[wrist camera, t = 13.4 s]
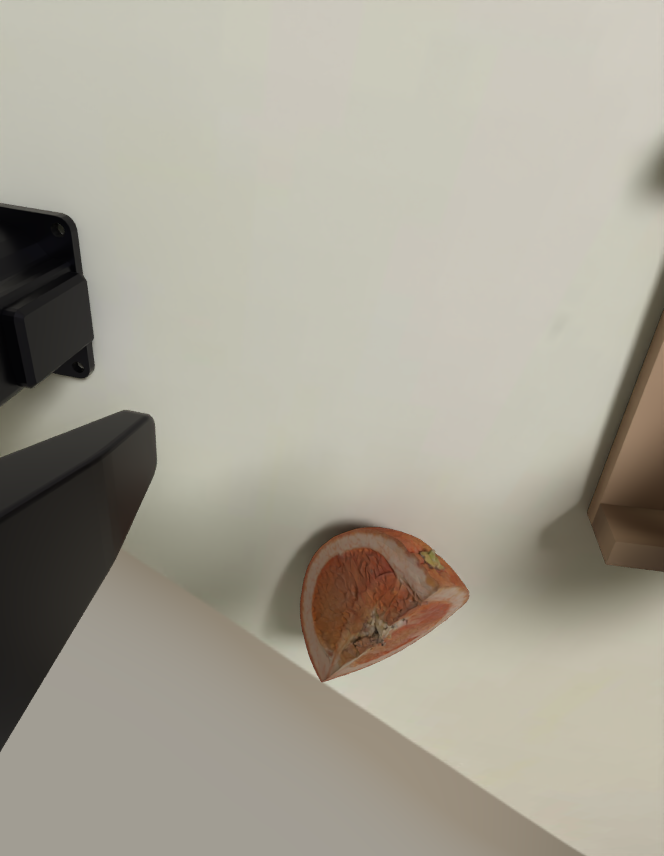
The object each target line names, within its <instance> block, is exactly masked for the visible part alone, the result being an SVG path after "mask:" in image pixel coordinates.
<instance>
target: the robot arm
mask: <svg viewBox="0 0 664 856" xmlns="http://www.w3.org/2000/svg"><path fill="white" fill-rule="evenodd" d="M57 223H58V224H60V225H61V226H62V227H63V228H64V231H65V233H64V234H62V233H61V232H60V231H59V230H58V228H57ZM93 338H94V335H93V327H92V319H91V311H90V303H89V295H88V287H87V281H86V279H85V277H84V276H83V272H82V264H81V256H80V248H79V241H78V233H77V228H76V225H75V223H74V221H73V220H72V219H71V218H70V217H69V216H67V215H65V214H63V213H58V212H51V211H45V210H39V209H33V208H27V207H21V206H15V205H9V204H3V203H0V406H2V405H3V404H4V403H6V402H7V401H8V400H9V399H11V398H12V397H13V396H14V395H16V394H17V393H18V392H20V391H21V390H22V389H23V388H25V387H26V388H34V387H35V386H36V385H38V384H39V383H40V382H41V381H43V380H44V379H45V378H46V377H48V376H49V375H50V374H51V373H55V374H60V375H66V376H71V377H77V378H85V377H87V376H88V375H89V374H91V373H92V372H93V370H94V366H95V364H94V357H93V349H92V340H93ZM77 362H79V363H81V364H82V365H83V367H84V368H81V367H80V366H79V365H78V363H77ZM156 465H157V452H156V435H155V423H154V420H153V418H152V417H151V416H150V415H149V414H145V413H140V412H135V411H130V410H123V411H120V412H117V413H115V414H112V415H109V416H107V417H104V418H102V419H99V420H97V421H94V422H91V423H89V424H86V425H84V426H81V427H79V428H76V429H73V430H71V431H68V432H66V433H63V434H61V435H58V436H55V437H53V438H50V439H48V440H45V441H42V442H40V443H37V444H35V445H32V446H30V447H27V448H24V449H22V450H19V451H17V452H14V453H12V454H9V455H6V456H4V457H1V458H0V751H1V750H2V748H3V746H4V745H5V743H6V741H7V740H8V738H9V736H10V734H11V733H12V731H13V730H14V728H15V726H16V725H17V723H18V721H19V720H20V718H21V716H22V715H23V713H24V712H25V710H26V708H27V707H28V705H29V703H30V701H31V700H32V698H33V697H34V695H35V693H36V692H37V690H38V688H39V687H40V685H41V683H42V682H43V680H44V678H45V677H46V675H47V673H48V672H49V670H50V668H51V667H52V665H53V663H54V662H55V660H56V658H57V657H58V655H59V653H60V652H61V650H62V648H63V647H64V645H65V643H66V641H67V640H68V638H69V637H70V635H71V633H72V632H73V630H74V628H75V627H76V625H77V623H78V622H79V620H80V618H81V617H82V615H83V613H84V612H85V610H86V608H87V607H88V605H89V603H90V602H91V600H92V598H93V597H94V595H95V593H96V592H97V590H98V588H99V587H100V585H101V583H102V582H103V580H104V579H105V577H106V575H107V573H108V572H109V570H110V568H111V566H112V565H113V563H114V561H115V559H116V557H117V555H118V553H119V551H120V549H121V547H122V545H123V543H124V540H125V538H126V536H127V534H128V531H129V529H130V527H131V525H132V523H133V520H134V518H135V516H136V514H137V512H138V509H139V507H140V505H141V503H142V500H143V498H144V496H145V494H146V492H147V489H148V487H149V485H150V483H151V481H152V478H153V476H154V473H155V470H156Z"/></svg>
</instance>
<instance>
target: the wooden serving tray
mask: <svg viewBox="0 0 664 856" xmlns="http://www.w3.org/2000/svg"><path fill="white" fill-rule="evenodd" d="M587 514H588V517H589V519H590V522H591V525H592V528H593V530H594V533H595V536H596V539H597V541H598V544H599V547H600V550H601V552H602V555H603V558H604V561H605V564H607V565H615V566H623V567H631V568H639V569H646V570H654V571H662V572H664V310H663V312H662V315H661V318H660V320H659V323H658V326H657V328H656V331H655V334H654V336H653V339H652V342H651V344H650V347H649V350H648V352H647V355H646V358H645V360H644V363H643V365H642V368H641V371H640V373H639V376H638V379H637V381H636V384H635V387H634V389H633V392H632V395H631V397H630V400H629V403H628V405H627V408H626V411H625V413H624V416H623V418H622V421H621V424H620V426H619V429H618V432H617V434H616V437H615V440H614V442H613V445H612V448H611V450H610V453H609V456H608V458H607V461H606V464H605V466H604V469H603V471H602V474H601V477H600V479H599V482H598V485H597V487H596V490H595V493H594V495H593V498H592V501H591V503H590V506H589V509H588V511H587Z"/></svg>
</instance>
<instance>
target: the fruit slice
mask: <svg viewBox="0 0 664 856" xmlns="http://www.w3.org/2000/svg"><path fill="white" fill-rule="evenodd" d="M468 599H469V591H468V589H467V588H466V586H465V585H464V583H463V582H462V581H461V579H460V578H459V577H458V575H457V574H456V573H455V571H454V570H453V569H452V568H451V567H450V566H449V565H448V564H447V563H446V562H445V561H444V560H443V559H442V558H441V557H440V556H438V555H437V554H436V553H435V550H433V549H432V548H431V547H430V546H428V545H427V544H426V543H424V542H423V541H422V540H420V539H418V538H416V537H414V536H412V535H409V534H406V533H403V532H400V531H396V530H393V529H387V528H381V527H365V528H357V529H354V530H350V531H347V532H344V533H342V534H339V535H336V536H334V537H333V538H331V539H330V540H329V541H327V542H326V543H325V544H324V545H322V546H321V547H320V548H319V549H318V550H317V552H316V553H315V554H314V556H313V557H312V559H311V561H310V563H309V565H308V568H307V571H306V574H305V577H304V582H303V587H302V593H301V600H300V618H301V626H302V632H303V634H304V639H305V643H306V647H307V650H308V654H309V657H310V660H311V662H312V664H313V667H314V669H315V671H316V673H317V675H318V677H319V679H320V681H321V682H325V681H329V680H331V679H334V678H337V677H340V676H343V675H347V674H349V673H351V672H355V671H358V670H360V669H363V668H365V667H368V666H370V665H373V664H375V663H377V662H380V661H381V660H383V659H385V658H387V657H389V656H391V655H393V654H395V653H397V652H399V651H401V650H403V649H404V648H406V647H407V646H409V645H411V644H413V643H414V642H416V641H417V640H419V639H420V638H422V637H423V636H425V635H426V634H428V633H429V632H430V631H432V630H433V629H434V628H436V627H437V626H438V625H440V624H441V623H442V622H444V621H446V620H447V619H448V618H449V617H450V616H451V615H452V614H453V613H454V612H456V611H457V610H458V609H459V608H461V607H462V606H463V605H464V604H465V603H466V602H467V600H468Z"/></svg>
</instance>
